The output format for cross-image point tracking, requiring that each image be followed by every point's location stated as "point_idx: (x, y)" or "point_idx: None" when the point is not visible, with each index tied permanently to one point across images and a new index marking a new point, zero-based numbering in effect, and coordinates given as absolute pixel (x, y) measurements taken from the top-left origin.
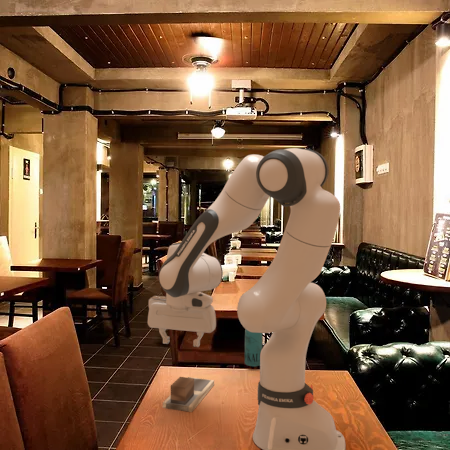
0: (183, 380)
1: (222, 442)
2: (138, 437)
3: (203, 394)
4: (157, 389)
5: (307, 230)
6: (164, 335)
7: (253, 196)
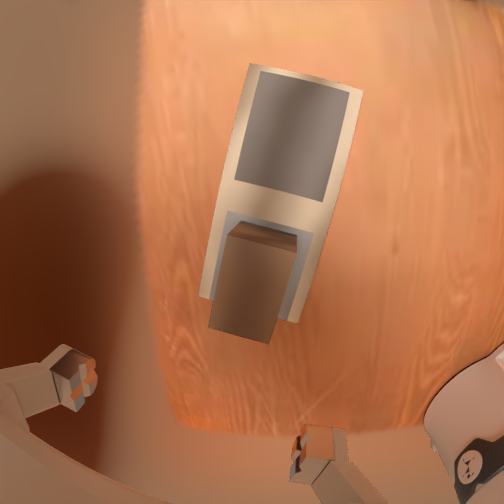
0: (250, 276)
1: (366, 426)
2: (192, 411)
3: (331, 215)
4: (153, 153)
5: None
6: (44, 402)
7: None
